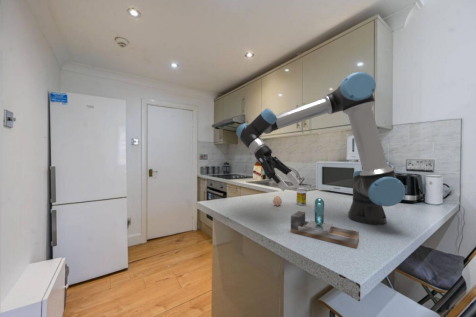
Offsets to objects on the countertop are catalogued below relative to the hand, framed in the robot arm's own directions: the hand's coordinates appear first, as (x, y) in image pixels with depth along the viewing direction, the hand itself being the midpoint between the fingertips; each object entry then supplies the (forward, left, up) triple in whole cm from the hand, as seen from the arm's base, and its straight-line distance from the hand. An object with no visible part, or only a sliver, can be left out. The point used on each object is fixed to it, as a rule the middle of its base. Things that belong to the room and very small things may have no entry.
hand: (292, 186), depth 80 cm
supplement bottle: (-12, -42, -17) cm, 47 cm away
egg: (+3, -37, -17) cm, 41 cm away
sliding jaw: (-9, +5, -15) cm, 19 cm away
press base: (-10, +6, -17) cm, 21 cm away
